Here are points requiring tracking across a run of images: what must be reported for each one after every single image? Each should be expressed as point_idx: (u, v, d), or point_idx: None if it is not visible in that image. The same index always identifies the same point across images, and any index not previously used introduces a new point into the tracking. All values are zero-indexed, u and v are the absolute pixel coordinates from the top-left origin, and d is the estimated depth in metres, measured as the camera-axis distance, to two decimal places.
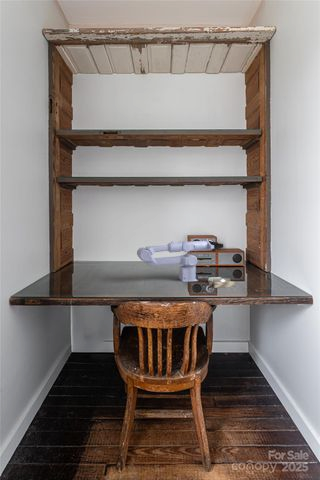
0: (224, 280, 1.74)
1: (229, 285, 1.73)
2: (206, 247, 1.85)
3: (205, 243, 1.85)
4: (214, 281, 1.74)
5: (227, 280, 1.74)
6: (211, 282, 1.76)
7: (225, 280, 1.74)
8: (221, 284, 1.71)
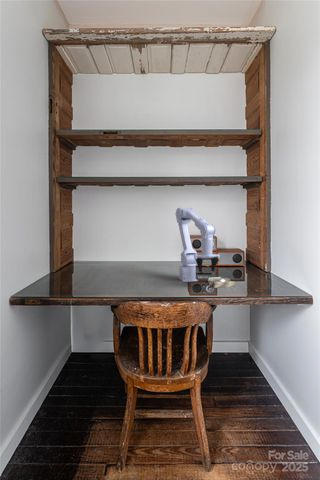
0: (224, 280, 1.74)
1: (229, 285, 1.73)
2: (202, 253, 1.71)
3: (204, 252, 1.69)
4: (214, 281, 1.74)
5: (227, 280, 1.74)
6: (211, 282, 1.76)
7: (225, 280, 1.74)
8: (221, 284, 1.71)
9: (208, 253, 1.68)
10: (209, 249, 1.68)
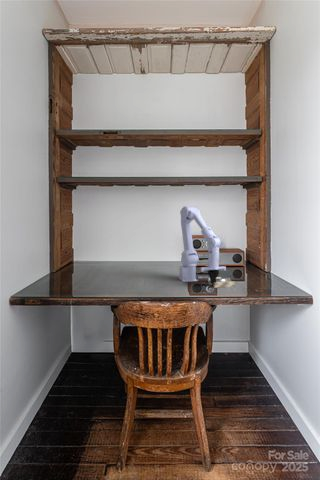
0: (224, 280, 1.74)
1: (229, 285, 1.73)
2: (208, 265, 1.73)
3: (210, 265, 1.70)
4: None
5: (227, 280, 1.75)
6: None
7: (225, 280, 1.74)
8: (221, 284, 1.71)
9: (214, 266, 1.70)
10: (215, 262, 1.70)
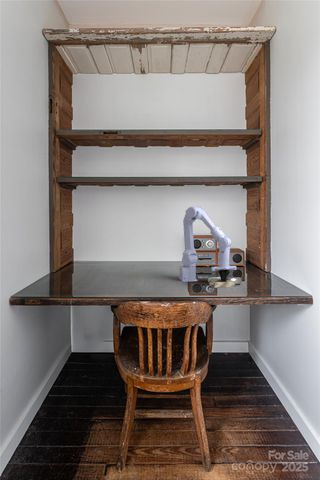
0: (235, 279, 1.76)
1: (229, 285, 1.73)
2: (219, 265, 1.74)
3: (221, 264, 1.72)
4: None
5: (238, 279, 1.76)
6: (211, 282, 1.76)
7: (236, 279, 1.76)
8: (221, 284, 1.71)
9: (225, 265, 1.72)
10: (226, 261, 1.71)
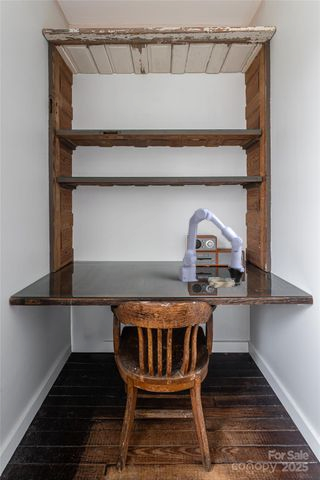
0: None
1: (229, 285, 1.73)
2: (237, 265, 1.74)
3: (240, 263, 1.74)
4: (225, 280, 1.76)
5: None
6: (211, 282, 1.76)
7: None
8: (221, 284, 1.71)
9: None
10: None
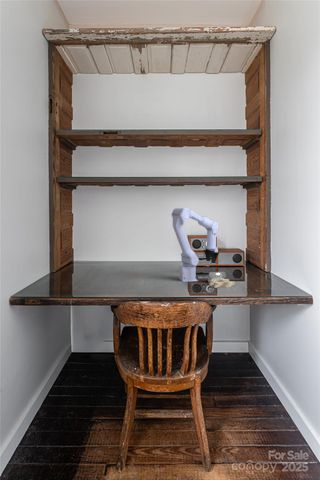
0: (219, 273, 1.81)
1: (229, 285, 1.73)
2: (212, 246, 1.92)
3: (215, 245, 1.93)
4: (210, 274, 1.81)
5: (222, 273, 1.81)
6: (211, 282, 1.76)
7: (220, 273, 1.81)
8: (221, 284, 1.71)
9: None
10: None
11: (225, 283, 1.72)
